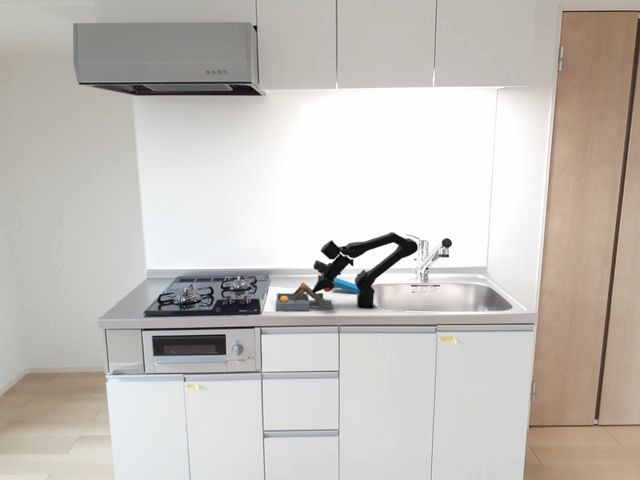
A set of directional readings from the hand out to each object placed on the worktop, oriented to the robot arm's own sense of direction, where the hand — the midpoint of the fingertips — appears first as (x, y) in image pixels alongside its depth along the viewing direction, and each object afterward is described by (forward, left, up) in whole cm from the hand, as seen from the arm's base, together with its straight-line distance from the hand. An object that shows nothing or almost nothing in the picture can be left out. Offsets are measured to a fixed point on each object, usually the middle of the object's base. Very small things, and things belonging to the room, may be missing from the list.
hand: (312, 292), depth 203 cm
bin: (+9, 0, -6) cm, 11 cm away
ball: (+12, 0, -4) cm, 13 cm away
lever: (-16, -22, -7) cm, 28 cm away
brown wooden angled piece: (-2, 0, -6) cm, 7 cm away
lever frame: (-4, 0, -6) cm, 7 cm away
